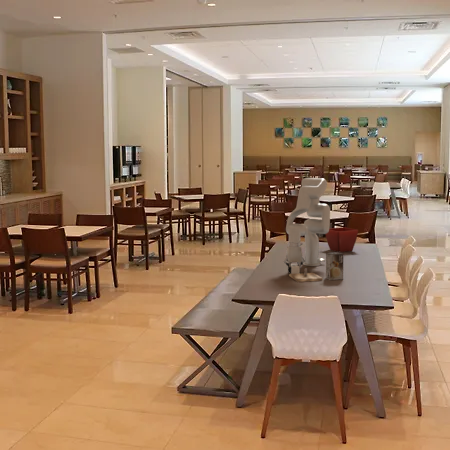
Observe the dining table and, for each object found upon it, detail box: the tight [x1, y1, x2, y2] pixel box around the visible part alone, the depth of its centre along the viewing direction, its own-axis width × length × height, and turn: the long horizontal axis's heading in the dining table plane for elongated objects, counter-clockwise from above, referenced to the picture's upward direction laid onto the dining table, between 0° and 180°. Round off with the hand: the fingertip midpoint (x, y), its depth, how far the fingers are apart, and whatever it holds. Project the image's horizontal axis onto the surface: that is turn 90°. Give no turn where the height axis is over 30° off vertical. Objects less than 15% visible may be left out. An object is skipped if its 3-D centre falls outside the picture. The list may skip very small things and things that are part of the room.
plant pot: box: [325, 226, 359, 253], centre depth 481 cm, size 19×19×17 cm
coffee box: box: [325, 251, 344, 281], centre depth 383 cm, size 9×6×16 cm
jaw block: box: [289, 263, 301, 274], centre depth 400 cm, size 5×7×5 cm
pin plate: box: [288, 268, 323, 283], centre depth 385 cm, size 16×16×6 cm
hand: (294, 272), depth 400 cm, fingers closed on jaw block, 5 cm apart
